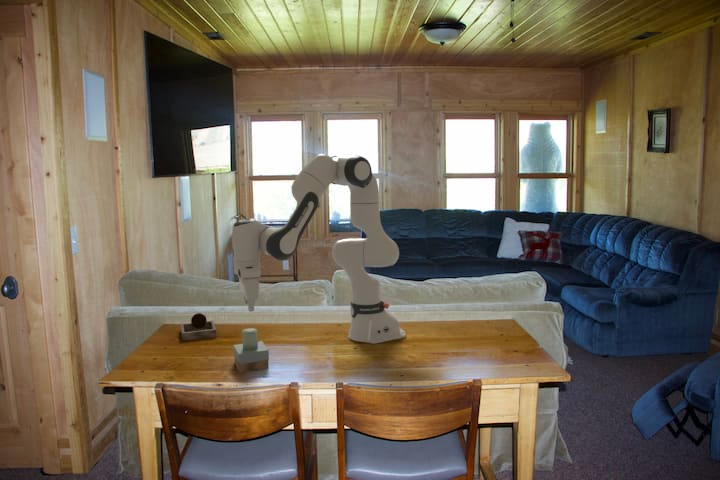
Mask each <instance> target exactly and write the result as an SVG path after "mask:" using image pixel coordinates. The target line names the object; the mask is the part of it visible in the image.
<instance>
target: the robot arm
mask: <svg viewBox="0 0 720 480" xmlns="http://www.w3.org/2000/svg"><path fill="white" fill-rule="evenodd" d="M330 185H339V186H345V187H347V186H348V189H349V191H350V193H349V194H350V196H349V200H350V203H349V205H350V206H349V207H350V211H349V213H350V222H351V224H352V225H353V227H355V228H356V229H359V230H360V231H362V232H363V233H365V235H366V237H365V238H359V237H357V238H356V237H355V238H351V237H347V238H343V239H342V238H341V239H338V240H336V242H335V243H334V245H333V246H332V250H331V255H332V256H331V257H332V259H333V261H334V263H336V264H337V265H338V266H339V267H340V268H341V269H343V271H344V272H345V273H346V275H347V277H348V279H349V282H350V288H351V289H350V290H351V301H350V316H351V317H350V318H351V321H350V326H349V327H350V328H349V332H348V338H349V339H350V340H352V341H354V342H358V343H359V342H360V343H367V344H372V345H376V344H380V343H384V342H390V341H394V340H399V339H404V338H406V331H404V330H403V328H401V327H400V323H399V321H398V318H397V317H395V316H394V315H393V314H391V313H390V312H389V311H387V310H388V309H389V308H390V305H389V303H387V302H385V301H382V300H381V283H380V281H379V280H378V279H377V278H376V277H375V276H373V275H371V274H369V273H368V272H367V271H366V269H365V268H384V267H391V266H394V265H395V264H396V263H397V261H398V260H399V257H400V249H399V246H398V244H397V243H396V241H394V240H393V239H392V238H391V237H390V236H388V235H387V233H386V231H385V230H384V228H383V226H382V222H381V213H380V191H379V185H378V179H377V177H376V176H375V175H374V174H373V171H372V167H371V163H370V162H369V160H368V159H367V158H366V157H364V156H360V155H350V154H343V155H334V156H330V155H327V154H324V153H319V154H317V155H315V156H314V157H313V158H311V159H310V160H309V161H308V162H307V163H306V164H305V165H304V167H303V168H302V169H301V171H300V172H298V174H297V176H296V177H295V178H294V180H293V183H292V185H291V195H292V197H293V198H294V200H295V201H296V206H295V208H294V210H293V213H292V214H291V215H290V217H289V219H288V220H287V222H286V224H285V225H283V226H281V228H278V227H277V226H276V227H275V226H272V225H267V224H264V223H262V222H260V221H259V220H257V219H255V218H252V217H250V218H249V217H248V218H242V219H239V220H237V221H236V222H235V223H234V224H233V225H232V231H231V232H232V233H231V243H232V244H231V245H232V246H231V247H232V250H233V257H232V263H233V273H234V275H237V278H238V283H239V284H238V285H239V288H240V290H241V293H242V295H243V300H244V301H243V303H244V304H245V305H247V309H248V312H251V313H252V312H254V311H255V303H256V302H257V301H258V300H259V296H260V295H259V294H260V278H261V273H262V271H261V255H263V254H265V255H267V256H270V257H272V258H274V259H276V260H279V261H286V260H289V259H290V258H291V259H292V257H293V256H294V255H295V253H296V251H298V247H299V243H300V240H301V237H302V235H303V233H304V232H305V230H306V228H307V226H308V225H309V223H310V222H311V220H312V218H313V216H314V215H315V213H316V211H317V209H318V206H319V203H320V200H321V198H322V197H323V195H324V193H325V192H326V190H328V188H329V186H330ZM386 309H387V310H386Z"/></svg>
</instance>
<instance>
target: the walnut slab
mask: <svg viewBox="0 0 720 480" xmlns="http://www.w3.org/2000/svg"><path fill="white" fill-rule="evenodd" d="M234 364H235V366H236V369H237V371H238V372H237V373H247V372H254V371H262V370H268V369H270V367H269V360H265V361H259V362H252V363H246V364H239V363H238V361H237V359H236V358H235V357H234Z"/></svg>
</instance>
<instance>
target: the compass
mask: <svg viewBox="0 0 720 480" xmlns="http://www.w3.org/2000/svg"><path fill="white" fill-rule="evenodd" d="M207 321H208V320H207V317H206V315H205V314H203V313H199V312H197V313H195V314H193V316H192V317H191V319H190V323H192V325H193V327H195V328H197V329H194V330H193V331H201V330H207V329H205V328H202V327H204V326H205V324H206V322H207ZM208 330H210V329H208Z"/></svg>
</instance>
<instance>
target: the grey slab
mask: <svg viewBox="0 0 720 480" xmlns="http://www.w3.org/2000/svg"><path fill="white" fill-rule="evenodd" d="M233 356H234V359H235V358H236V359H237V361H238V363H239V364H246V363H252V362H259V361H265V360H268V361H269V359H270V351H269V349H268V348H267V346H266V345H265V343H264V342H263V341H262V340H260V341H258V348H257V349H254V350H244V349H243V343H238V344H233Z"/></svg>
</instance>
